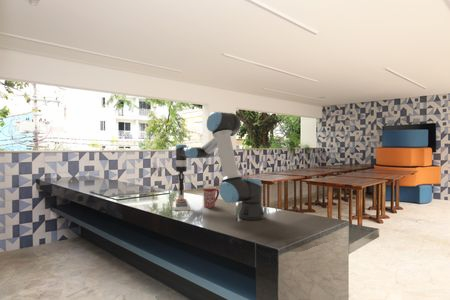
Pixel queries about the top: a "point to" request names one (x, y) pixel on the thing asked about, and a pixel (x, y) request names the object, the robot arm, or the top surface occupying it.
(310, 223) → the top surface
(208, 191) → the mug
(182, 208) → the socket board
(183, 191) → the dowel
